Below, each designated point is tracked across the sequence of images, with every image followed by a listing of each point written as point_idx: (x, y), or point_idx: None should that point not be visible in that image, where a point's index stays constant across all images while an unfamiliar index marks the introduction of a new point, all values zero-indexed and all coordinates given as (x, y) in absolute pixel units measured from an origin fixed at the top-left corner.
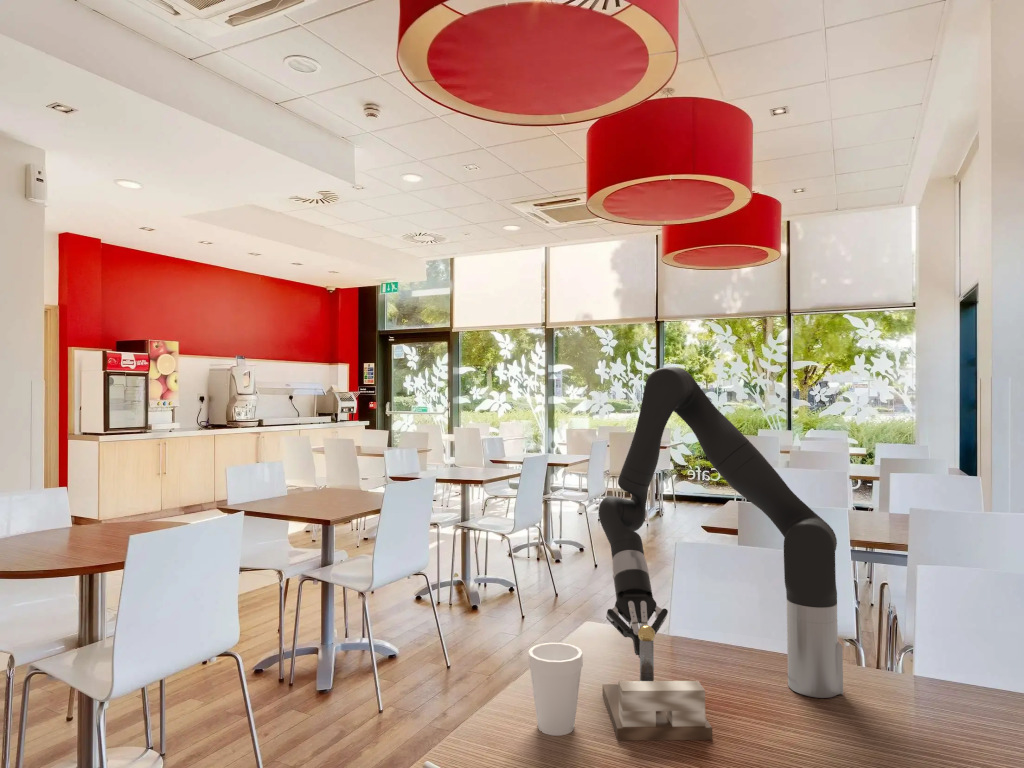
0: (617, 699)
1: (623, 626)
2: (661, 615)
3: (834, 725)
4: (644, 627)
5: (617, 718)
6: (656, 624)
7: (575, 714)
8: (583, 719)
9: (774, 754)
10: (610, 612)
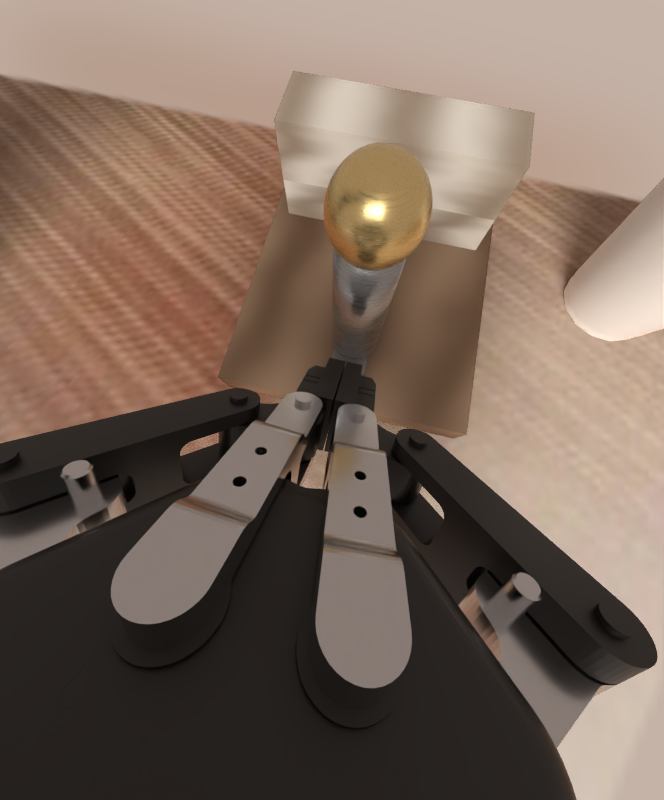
0: (451, 329)
1: (444, 458)
2: (88, 440)
3: (21, 182)
4: (407, 152)
5: (482, 240)
6: (197, 407)
7: (586, 266)
8: (534, 321)
9: (217, 130)
10: (603, 605)
